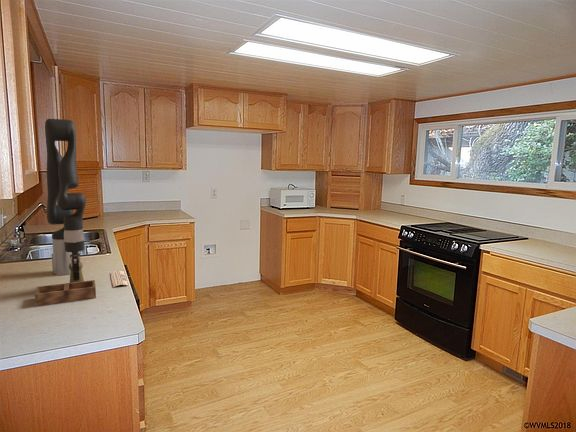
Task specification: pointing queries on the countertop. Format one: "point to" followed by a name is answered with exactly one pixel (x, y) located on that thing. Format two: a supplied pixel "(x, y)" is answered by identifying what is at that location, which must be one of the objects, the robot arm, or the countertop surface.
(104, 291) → the countertop surface
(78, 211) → the robot arm
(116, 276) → the newspaper
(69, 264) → the cork
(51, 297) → the walnut caddy
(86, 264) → the countertop surface
